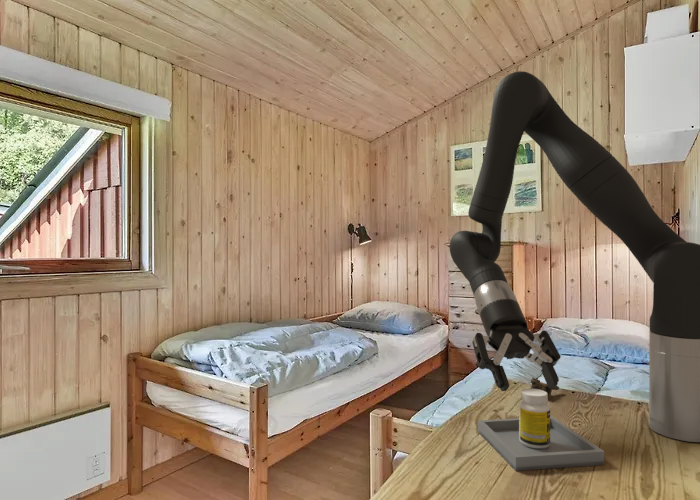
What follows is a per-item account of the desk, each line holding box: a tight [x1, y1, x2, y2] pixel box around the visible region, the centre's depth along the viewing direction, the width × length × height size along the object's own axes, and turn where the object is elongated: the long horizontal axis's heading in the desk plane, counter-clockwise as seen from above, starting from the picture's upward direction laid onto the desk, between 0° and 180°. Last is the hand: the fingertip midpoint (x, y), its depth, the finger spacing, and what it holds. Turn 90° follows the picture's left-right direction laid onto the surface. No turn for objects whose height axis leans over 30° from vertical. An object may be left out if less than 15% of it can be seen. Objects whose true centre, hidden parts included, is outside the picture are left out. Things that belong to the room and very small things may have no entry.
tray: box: [477, 415, 605, 472], centre depth 75 cm, size 14×14×2 cm
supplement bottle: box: [518, 388, 551, 449], centre depth 75 cm, size 5×5×8 cm
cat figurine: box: [530, 377, 560, 398], centre depth 99 cm, size 3×8×4 cm, turn 113°
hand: (530, 387), depth 77 cm, fingers open, 8 cm apart
